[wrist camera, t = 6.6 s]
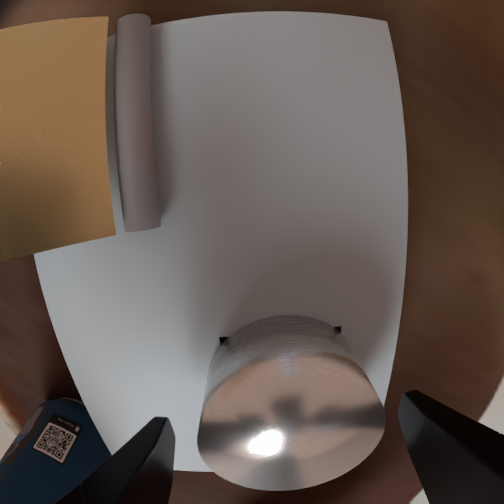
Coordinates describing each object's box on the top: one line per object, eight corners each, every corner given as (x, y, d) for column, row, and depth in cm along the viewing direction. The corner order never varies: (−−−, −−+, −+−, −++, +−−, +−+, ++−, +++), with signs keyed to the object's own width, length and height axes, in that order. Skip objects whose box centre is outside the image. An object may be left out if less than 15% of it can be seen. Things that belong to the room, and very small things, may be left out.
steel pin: (323, 354, 15) (368, 476, 7) (225, 363, 15) (213, 493, 7) (324, 262, 14) (402, 359, 6) (213, 270, 14) (178, 382, 6)
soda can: (126, 466, 18) (88, 587, 6) (49, 432, 17) (-9, 535, 6) (131, 415, 16) (73, 575, 5) (40, 374, 16) (-51, 495, 4)
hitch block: (344, 390, 16) (376, 469, 10) (140, 401, 16) (111, 477, 10) (342, 65, 11) (400, 8, 6) (85, 94, 12) (6, 64, 6)
